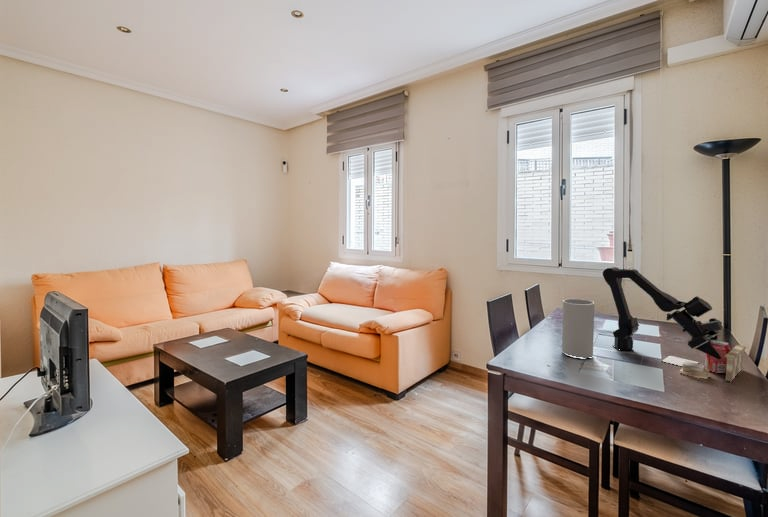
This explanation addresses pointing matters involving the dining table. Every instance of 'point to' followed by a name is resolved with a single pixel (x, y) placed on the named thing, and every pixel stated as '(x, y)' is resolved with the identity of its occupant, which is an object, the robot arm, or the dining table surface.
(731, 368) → the rack board
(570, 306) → the cylinder vase
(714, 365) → the soda can
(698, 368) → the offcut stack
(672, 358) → the white mat
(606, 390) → the dining table surface
